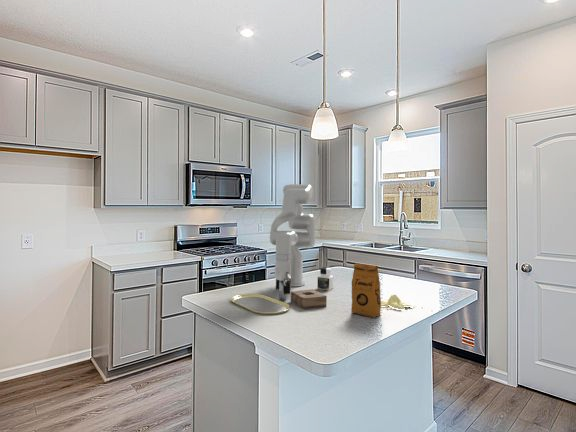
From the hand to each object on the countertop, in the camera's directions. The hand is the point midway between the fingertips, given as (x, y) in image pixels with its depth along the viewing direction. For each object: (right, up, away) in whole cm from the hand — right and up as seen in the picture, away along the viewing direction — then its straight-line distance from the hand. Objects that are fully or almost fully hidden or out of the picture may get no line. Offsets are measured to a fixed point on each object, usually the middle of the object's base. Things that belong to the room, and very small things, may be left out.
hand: (282, 291), depth 173 cm
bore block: (+12, -5, -5) cm, 14 cm away
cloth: (+53, -6, -8) cm, 54 cm away
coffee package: (+37, -6, -20) cm, 42 cm away
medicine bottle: (+24, -4, +27) cm, 36 cm away
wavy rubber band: (-11, -5, -7) cm, 14 cm away
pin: (0, -5, 0) cm, 5 cm away
